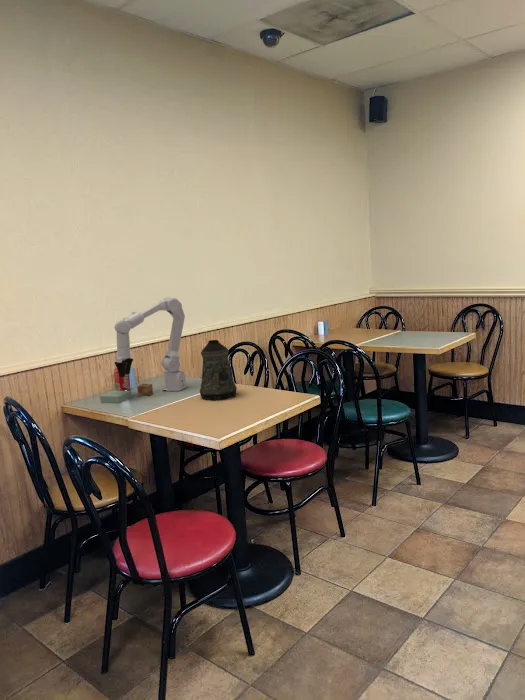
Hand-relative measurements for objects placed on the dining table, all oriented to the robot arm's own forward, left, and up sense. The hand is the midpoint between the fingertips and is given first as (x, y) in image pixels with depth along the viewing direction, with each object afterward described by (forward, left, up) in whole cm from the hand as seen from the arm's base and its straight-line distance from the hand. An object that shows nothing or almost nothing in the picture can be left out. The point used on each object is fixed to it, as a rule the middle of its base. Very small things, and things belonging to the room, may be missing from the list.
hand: (124, 375), depth 257 cm
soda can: (+11, -13, -11) cm, 20 cm away
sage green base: (+3, +4, -11) cm, 12 cm away
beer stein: (-43, -7, -11) cm, 45 cm away
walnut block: (-7, -5, -11) cm, 14 cm away
